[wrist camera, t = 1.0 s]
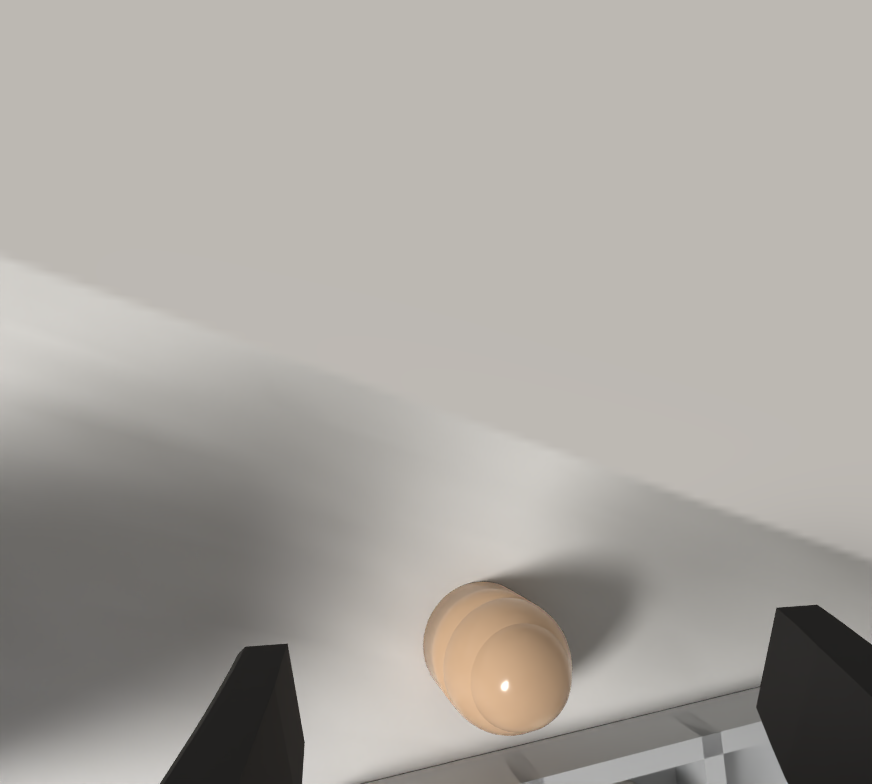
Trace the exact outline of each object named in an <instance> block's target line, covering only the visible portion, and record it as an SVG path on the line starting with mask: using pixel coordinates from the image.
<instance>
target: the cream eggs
mask: <svg viewBox="0 0 872 784" xmlns="http://www.w3.org/2000/svg"><path fill="white" fill-rule="evenodd" d="M613 784H637V783H635V782H633V781H631V780H624V781H621V782H617V783H613Z"/></svg>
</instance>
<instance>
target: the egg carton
mask: <svg viewBox="0 0 872 784" xmlns="http://www.w3.org/2000/svg"><path fill="white" fill-rule="evenodd" d="M759 691H760V687H758V688H754V689H750V690H746V691H742V692H738V693H733V694H729V695H725V696H721V697H717V698H713V699H709V700H705V701H701V702H697V703H692V704H688V705H684V706H680V707H676V708H672V709H668V710H664V711H660V712H656V713H651V714H647V715H643V716H639V717H635V718H631V719H627V720H623V721H619V722H615V723H610V724H606V725H602V726H598V727H594V728H590V729H586V730H582V731H578V732H573V733H569V734H565V735H561V736H557V737H553V738H549V739H545V740H541V741H537V742H532V743H528V744H524V745H520V746H516V747H512V748H508V749H504V750H500V751H496V752H491V753H487V754H483V755H479V756H475V757H471V758H467V759H463V760H459V761H455V762H450V763H446V764H442V765H438V766H434V767H430V768H426V769H422V770H418V771H414V772H409V773H405V774H401V775H397V776H393V777H389V778H385V779H381V780H377V781H373V782H368V783H364V784H613V783H617V782H621V781H624V780H631V781H633V782H635V783H637V784H788V783H787V781H786V779H785V777H784V775H783V772H782V770H781V768H780V765H779V763H778V761H777V758H776V756H775V753H774V751H773V749H772V746H771V744H770V741H769V739H768V736H767V734H766V731H765V729H764V726H763V724H762V721H761V719H760V716H759V714H758V711H757V708H756V705H757V700H758V695H759Z"/></svg>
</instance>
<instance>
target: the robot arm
mask: <svg viewBox="0 0 872 784" xmlns="http://www.w3.org/2000/svg"><path fill="white" fill-rule="evenodd" d="M756 708H757V711H758V714H759V716H760V719H761V721H762V724H763V726H764V729H765V731H766V734H767V736H768V739H769V741H770V744H771V746H772V749H773V751H774V753H775V756H776V758H777V761H778V763H779V765H780V768H781V770H782V772H783V775H784V777H785V779H786V781H787V783H788V784H872V645H871V644H870V643H869V642H867V641H866V640H865V639H863V638H862V637H861V636H859V635H858V634H857V633H855V632H854V631H853V630H851V629H850V628H849V627H847V626H846V625H845V624H843V623H842V622H841V621H839V620H838V619H836V618H835V617H834V616H832V615H831V614H829V613H828V612H827V611H825V610H824V609H822V608H821V607H820V606H818V605H808V606H795V607H781V608H777V609H776V613H775V618H774V623H773V628H772V633H771V637H770V642H769V647H768V652H767V657H766V662H765V666H764V671H763V676H762V681H761V686H760V691H759V695H758V700H757V705H756ZM304 743H305V742H304V736H303V731H302V725H301V719H300V713H299V707H298V702H297V696H296V690H295V684H294V679H293V673H292V667H291V661H290V655H289V650H288V644H277V645H264V646H250V647H245V648H244V649H243V650H242V651H241V652H240V653H239V654H238V656H237V657H236V659H235V661H234V663H233V665H232V667H231V668H230V670H229V672H228V674H227V676H226V677H225V679H224V681H223V683H222V685H221V686H220V688H219V690H218V692H217V693H216V695H215V697H214V698H213V700H212V702H211V704H210V705H209V707H208V709H207V710H206V712H205V714H204V715H203V717H202V719H201V720H200V722H199V723H198V725H197V727H196V728H195V730H194V732H193V733H192V735H191V736H190V738H189V740H188V741H187V743H186V744H185V746H184V747H183V749H182V750H181V752H180V753H179V755H178V757H177V758H176V760H175V761H174V763H173V764H172V766H171V767H170V769H169V771H168V772H167V774H166V775H165V777H164V778H163V780H162V781H161V783H160V784H302V774H303V759H304Z"/></svg>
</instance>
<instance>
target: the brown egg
mask: <svg viewBox="0 0 872 784" xmlns="http://www.w3.org/2000/svg"><path fill="white" fill-rule="evenodd" d="M423 650H424V657H425V662H426V665H427V668H428V670H429V672H430V674H431V676H432V678H433V679H434V681H435V682H436V683H437V685H438V686H439V687H440V689H441V690H442V691H443V692H444V694H445V695H446V696H447V698H448V699H449V700H450V702H451V703H452V704H453V705H454V707H455V708H456V709H457V710H458V712H459V713H460V714H461V715H462V716H463V717H464V718H465V719H466V720H468V721H469V722H470V723H471V724H473V725H474V726H476V727H478V728H480V729H482V730H484V731H486V732H489V733H492V734H496V735H504V736H515V735H521V734H525V733H528V732H532V731H535V730H538V729H540V728H543V727H545V726H546V725H548V724H549V723H550V722H552V721H553V720H554V719H555V718H556V717H557V716H558V715H559V714H560V712H561V711H562V710H563V708H564V706H565V704H566V702H567V700H568V697H569V694H570V690H571V681H572V658H571V653H570V649H569V646H568V643H567V640H566V638H565V635H564V633H563V632H562V630H561V628H560V627H559V625H558V624H557V623H556V621H555V620H554V619H553V618H552V617H551V616H550V615H549V614H548V613H547V612H546V611H544V610H543V609H542V608H540V607H539V606H537V605H536V604H534V603H532V602H531V601H529V600H527V599H526V598H524V597H522V596H520V595H519V594H517V593H515V592H514V591H512V590H510V589H509V588H507V587H505V586H503V585H500V584H497V583H492V582H473V583H469V584H466V585H463V586H460V587H458V588H457V589H455V590H453V591H452V592H450V593H449V594H448V595H446V596H445V597H444V598H443V599H442V600H441V601H440V602H439V604H438V605H437V606H436V607H435V609H434V610H433V612H432V614H431V616H430V618H429V620H428V623H427V626H426V629H425V633H424V641H423Z"/></svg>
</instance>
